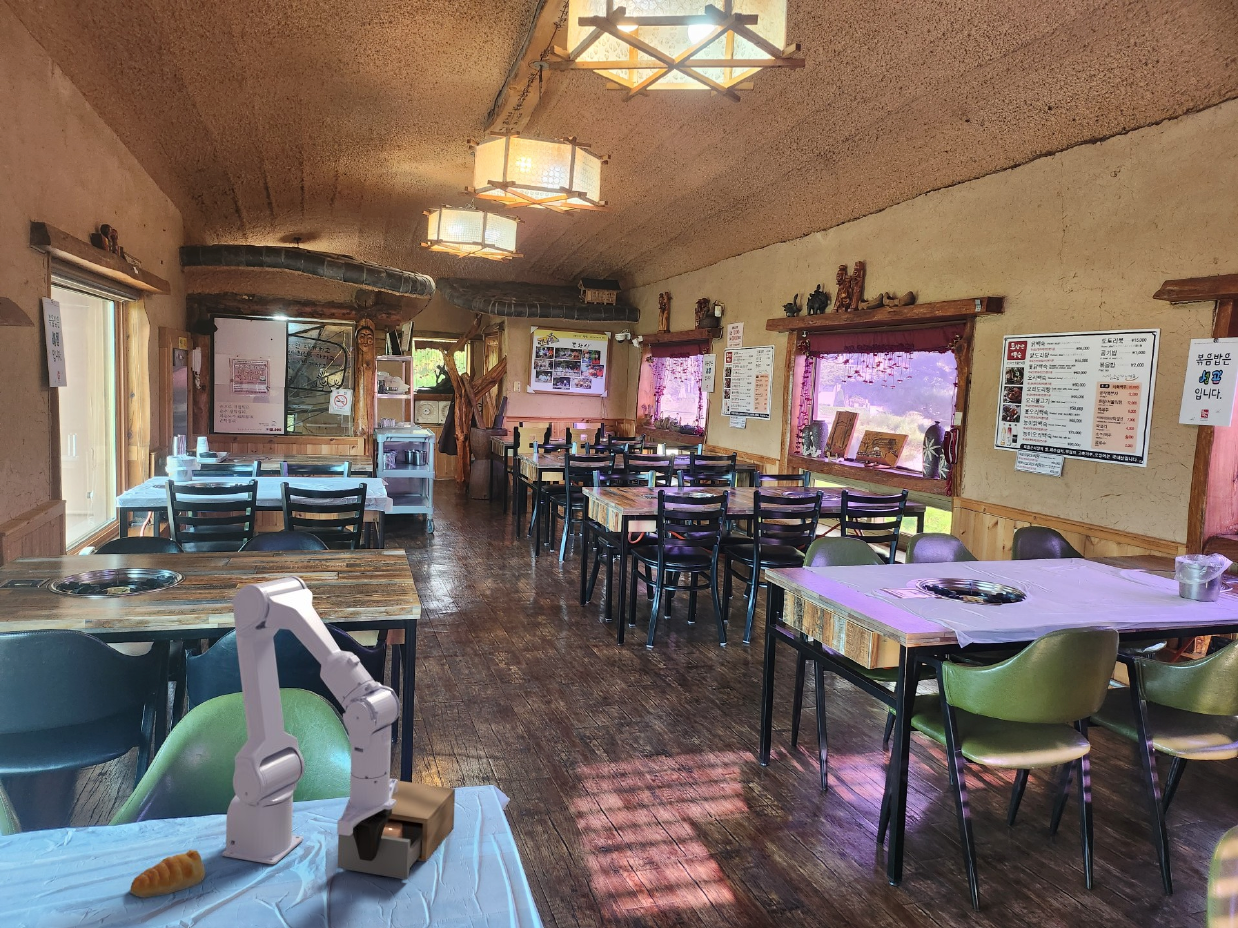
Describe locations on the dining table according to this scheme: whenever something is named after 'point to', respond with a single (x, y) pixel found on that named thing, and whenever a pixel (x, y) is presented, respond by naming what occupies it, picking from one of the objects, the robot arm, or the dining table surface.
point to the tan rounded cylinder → (393, 829)
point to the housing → (425, 812)
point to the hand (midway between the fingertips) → (367, 857)
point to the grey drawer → (384, 853)
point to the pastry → (170, 875)
